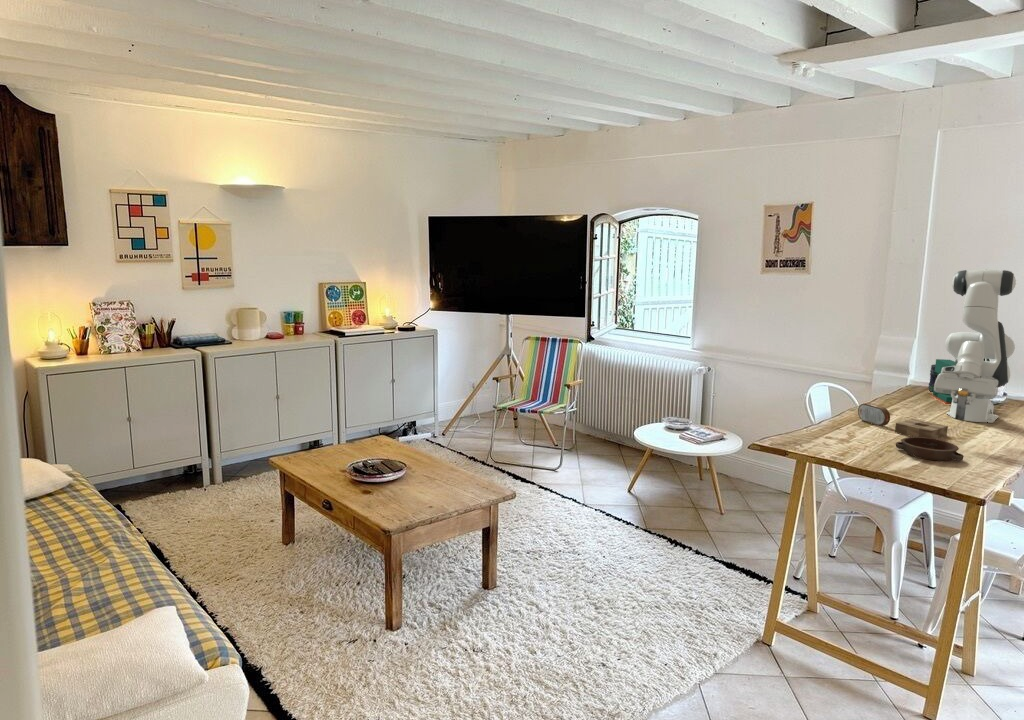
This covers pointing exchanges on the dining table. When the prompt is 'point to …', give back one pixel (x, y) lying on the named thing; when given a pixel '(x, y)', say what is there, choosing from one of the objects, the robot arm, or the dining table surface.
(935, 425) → the brown square frame
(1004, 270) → the robot arm
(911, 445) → the dish
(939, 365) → the power tool
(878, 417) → the tin
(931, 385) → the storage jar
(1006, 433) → the dining table surface
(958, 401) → the grey upright cylinder
